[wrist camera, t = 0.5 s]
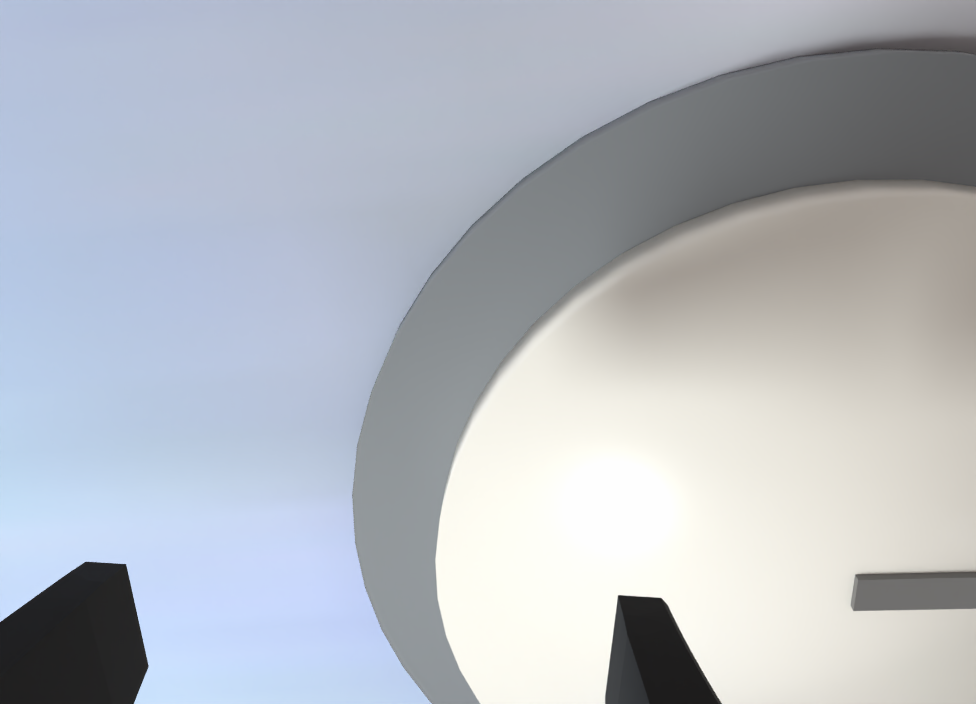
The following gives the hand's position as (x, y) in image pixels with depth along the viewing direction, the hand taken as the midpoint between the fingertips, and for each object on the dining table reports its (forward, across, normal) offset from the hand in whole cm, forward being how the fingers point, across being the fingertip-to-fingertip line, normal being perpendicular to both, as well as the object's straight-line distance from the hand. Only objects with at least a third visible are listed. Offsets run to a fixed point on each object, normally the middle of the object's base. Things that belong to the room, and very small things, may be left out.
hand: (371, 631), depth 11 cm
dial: (+9, -10, +5) cm, 14 cm away
